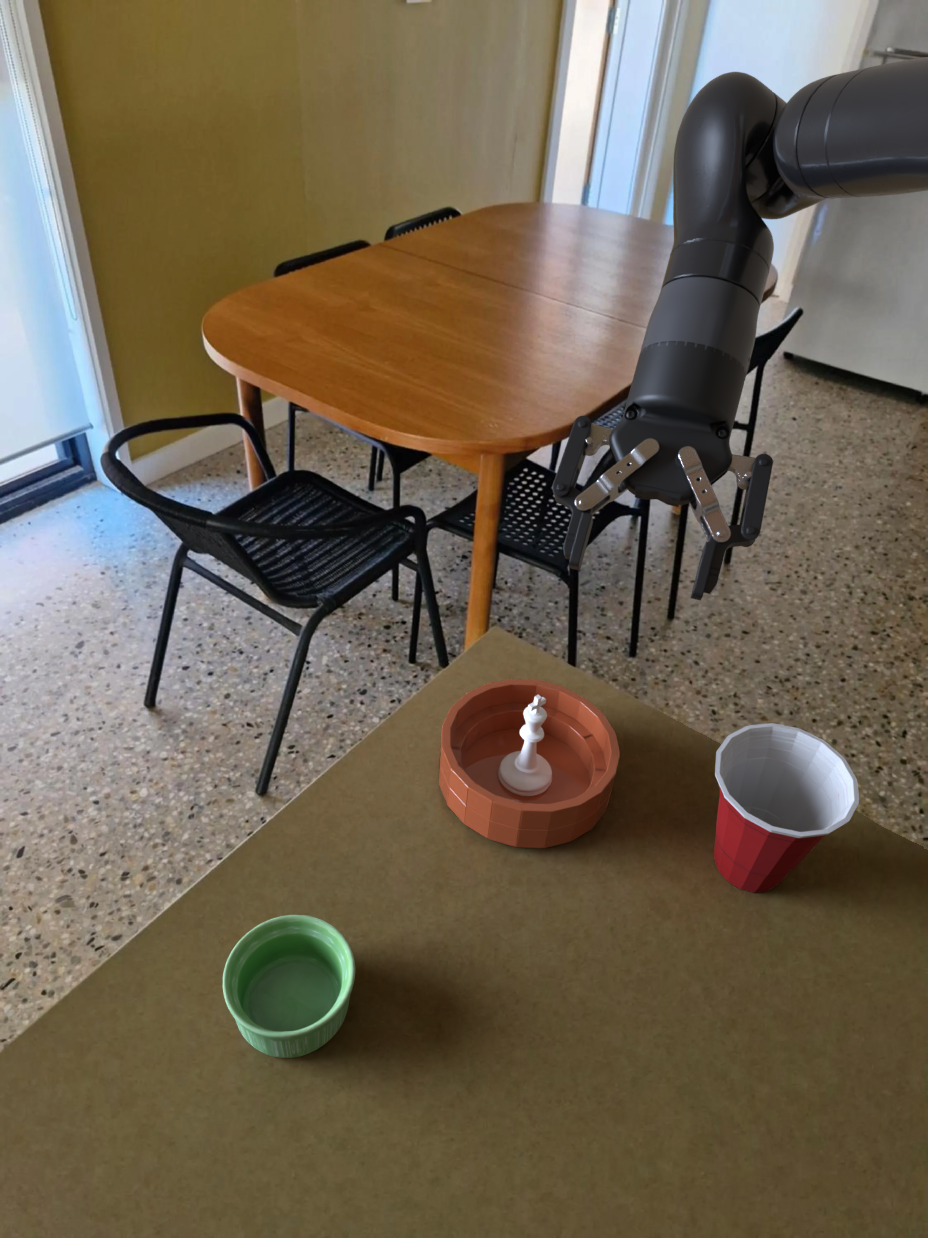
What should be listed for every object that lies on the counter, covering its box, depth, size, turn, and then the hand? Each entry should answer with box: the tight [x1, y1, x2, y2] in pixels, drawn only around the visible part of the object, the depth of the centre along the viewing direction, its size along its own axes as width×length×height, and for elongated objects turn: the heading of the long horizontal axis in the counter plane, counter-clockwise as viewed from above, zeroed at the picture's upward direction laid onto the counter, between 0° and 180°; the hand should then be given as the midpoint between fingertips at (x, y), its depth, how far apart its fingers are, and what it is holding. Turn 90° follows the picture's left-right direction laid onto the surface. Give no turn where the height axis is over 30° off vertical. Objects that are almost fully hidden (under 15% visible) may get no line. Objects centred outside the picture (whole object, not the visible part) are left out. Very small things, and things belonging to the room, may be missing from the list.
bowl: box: [438, 678, 621, 849], centre depth 80 cm, size 16×16×6 cm
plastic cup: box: [713, 722, 860, 894], centre depth 72 cm, size 11×11×12 cm
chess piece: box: [498, 695, 552, 796], centre depth 78 cm, size 5×5×10 cm
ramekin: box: [222, 914, 356, 1059], centre depth 62 cm, size 9×9×4 cm
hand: (634, 582), depth 61 cm, fingers open, 8 cm apart
